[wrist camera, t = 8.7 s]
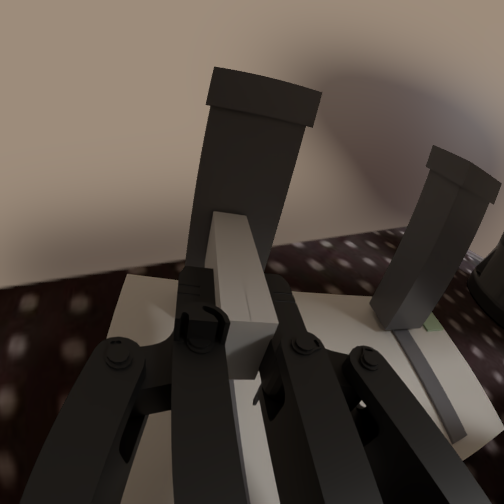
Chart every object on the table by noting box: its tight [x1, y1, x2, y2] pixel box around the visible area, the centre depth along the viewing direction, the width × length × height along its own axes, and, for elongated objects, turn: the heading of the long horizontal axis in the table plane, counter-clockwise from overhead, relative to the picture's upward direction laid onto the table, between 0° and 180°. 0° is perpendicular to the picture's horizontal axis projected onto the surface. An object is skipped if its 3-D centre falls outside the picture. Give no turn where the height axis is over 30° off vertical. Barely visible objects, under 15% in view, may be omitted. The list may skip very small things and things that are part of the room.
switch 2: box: [369, 145, 501, 330], centre depth 17 cm, size 4×4×13 cm
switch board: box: [107, 274, 504, 504], centre depth 15 cm, size 26×16×2 cm, turn 98°
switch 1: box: [185, 67, 322, 272], centre depth 14 cm, size 4×4×13 cm
